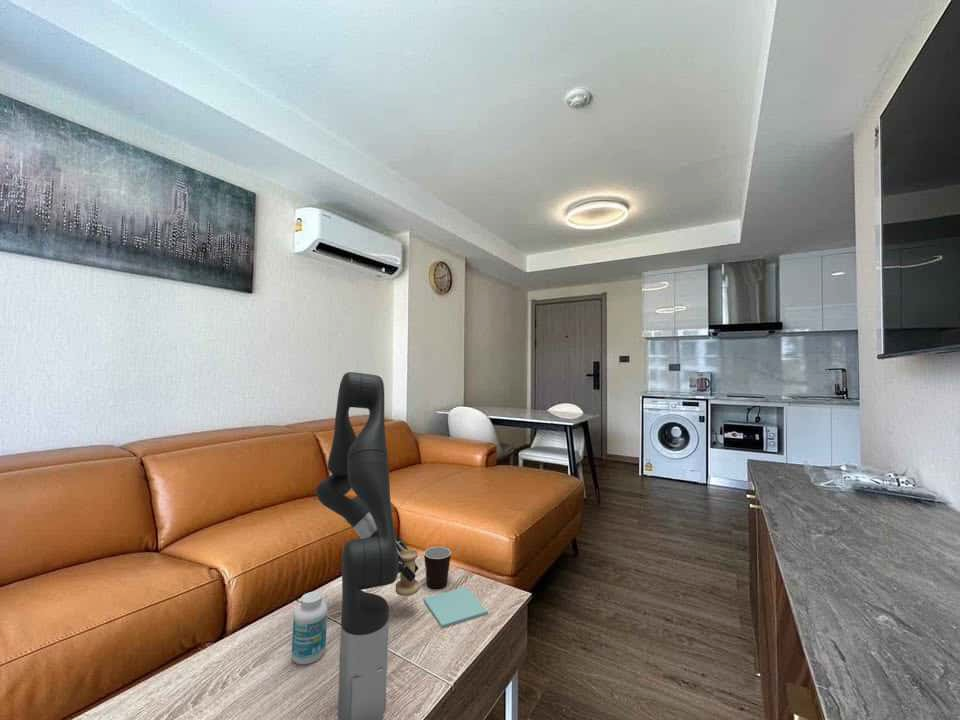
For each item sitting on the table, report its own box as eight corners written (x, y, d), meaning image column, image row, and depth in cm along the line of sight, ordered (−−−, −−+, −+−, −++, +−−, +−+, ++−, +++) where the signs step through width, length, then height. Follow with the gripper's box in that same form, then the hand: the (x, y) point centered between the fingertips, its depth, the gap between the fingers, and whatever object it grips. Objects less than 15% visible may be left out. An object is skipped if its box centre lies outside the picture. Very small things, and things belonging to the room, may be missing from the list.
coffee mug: (445, 593, 120) (446, 560, 120) (419, 589, 122) (420, 557, 122) (455, 574, 131) (456, 544, 132) (431, 571, 133) (432, 541, 134)
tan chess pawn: (422, 591, 109) (423, 555, 110) (400, 598, 106) (401, 560, 106) (413, 581, 114) (414, 546, 115) (392, 587, 111) (393, 551, 112)
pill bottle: (288, 669, 88) (291, 607, 89) (294, 647, 95) (297, 590, 96) (323, 663, 90) (326, 603, 91) (327, 642, 97) (329, 586, 98)
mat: (487, 614, 110) (487, 611, 110) (441, 628, 103) (442, 625, 103) (465, 589, 122) (465, 587, 122) (423, 600, 116) (423, 598, 116)
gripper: (376, 529, 104) (420, 578, 103) (389, 512, 119) (428, 554, 118) (355, 549, 104) (399, 598, 103) (371, 529, 118) (410, 572, 117)
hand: (414, 574), depth 110 cm, fingers closed on tan chess pawn, 4 cm apart
